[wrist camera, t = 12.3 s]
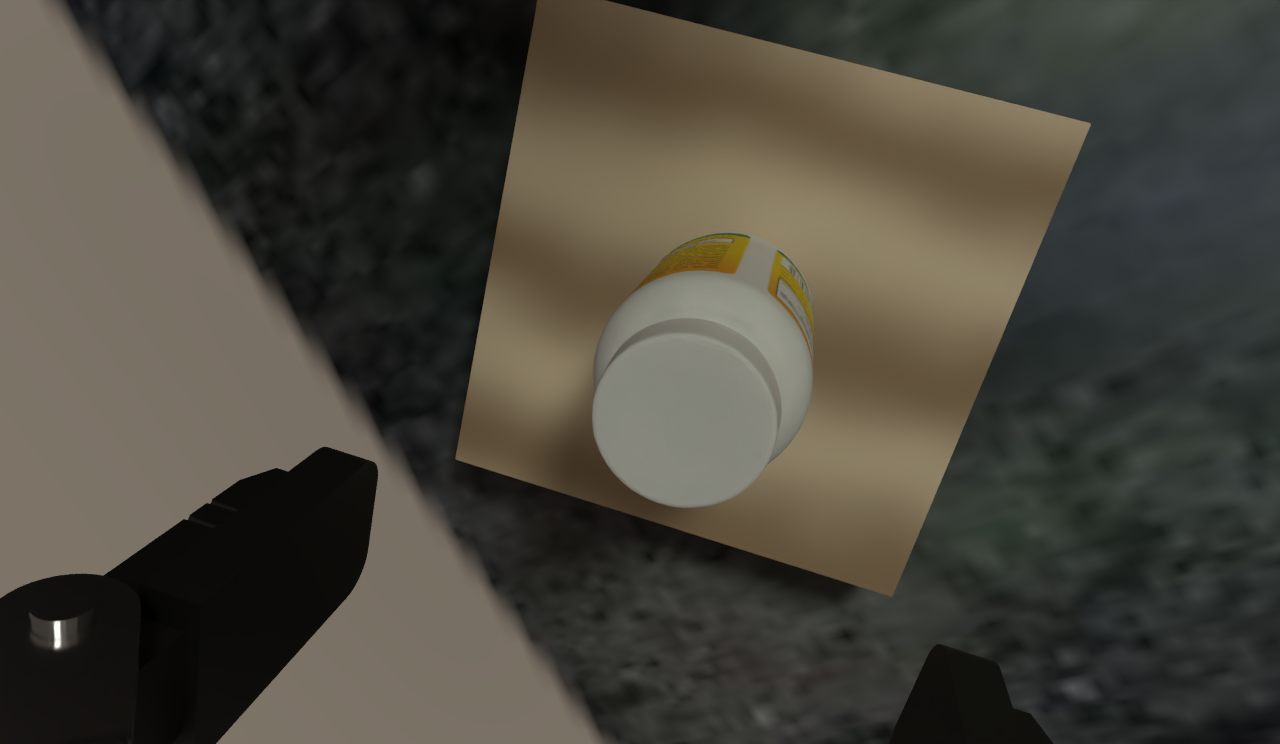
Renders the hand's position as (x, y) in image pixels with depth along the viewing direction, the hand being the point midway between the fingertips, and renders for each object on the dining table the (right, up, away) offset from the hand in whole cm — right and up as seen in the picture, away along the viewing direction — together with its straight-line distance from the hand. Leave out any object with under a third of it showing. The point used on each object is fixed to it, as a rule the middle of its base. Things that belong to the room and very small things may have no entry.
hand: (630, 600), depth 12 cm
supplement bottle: (+3, +5, +15) cm, 16 cm away
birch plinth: (+4, +6, +18) cm, 19 cm away
